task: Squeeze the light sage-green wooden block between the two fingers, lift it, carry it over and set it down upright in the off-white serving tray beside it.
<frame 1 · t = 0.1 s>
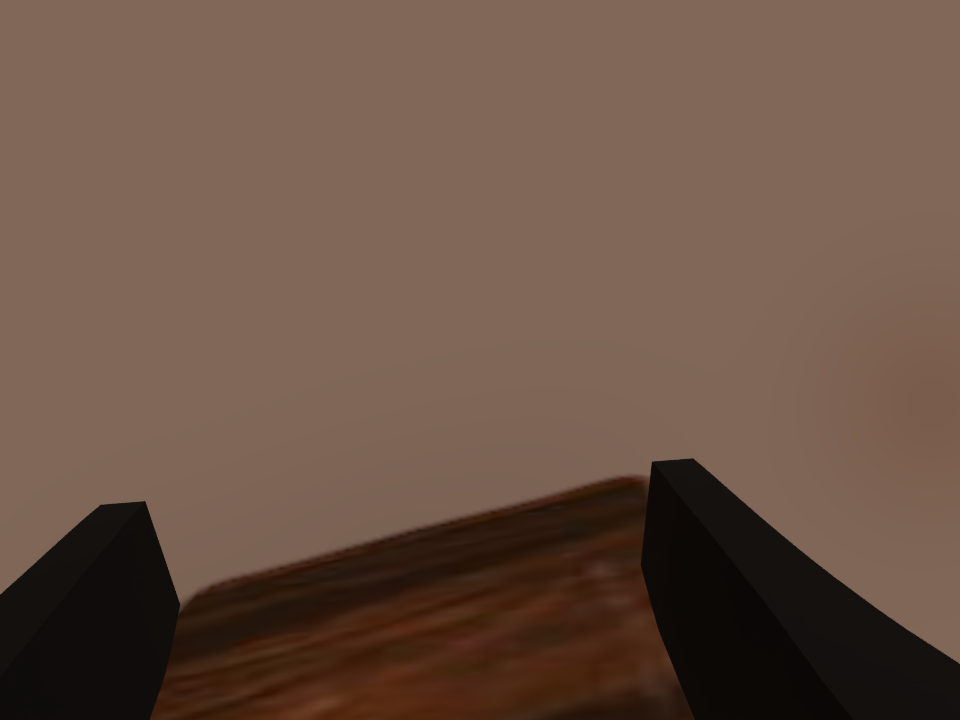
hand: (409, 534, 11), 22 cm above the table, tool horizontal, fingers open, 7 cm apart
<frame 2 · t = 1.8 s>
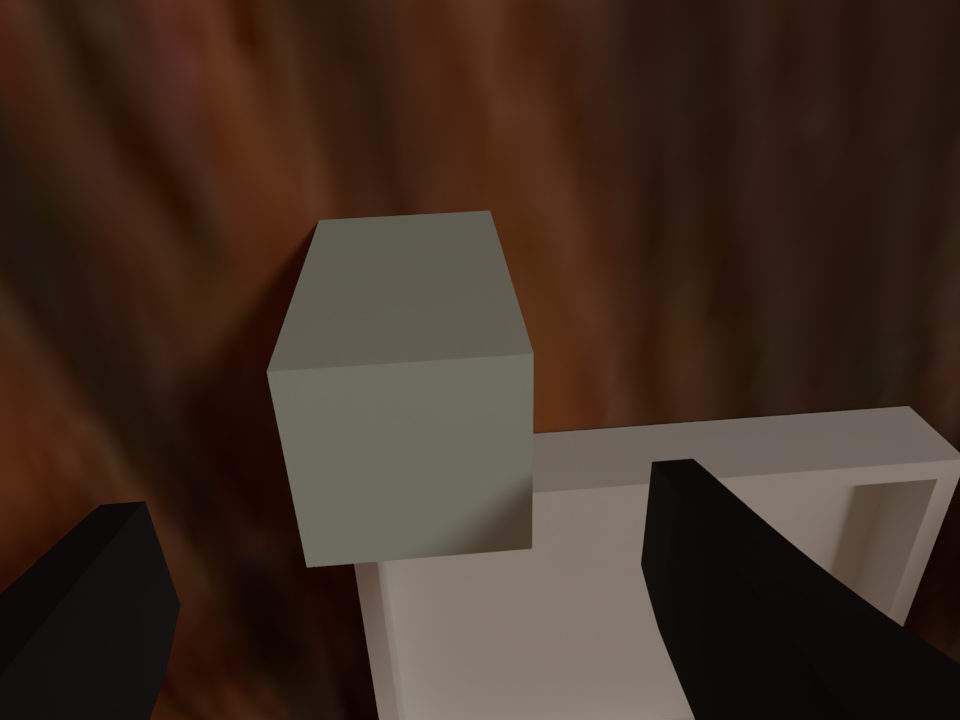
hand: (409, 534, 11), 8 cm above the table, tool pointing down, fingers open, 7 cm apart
serving tray: (621, 589, 24), on the table
sage block: (411, 293, 18), on the table
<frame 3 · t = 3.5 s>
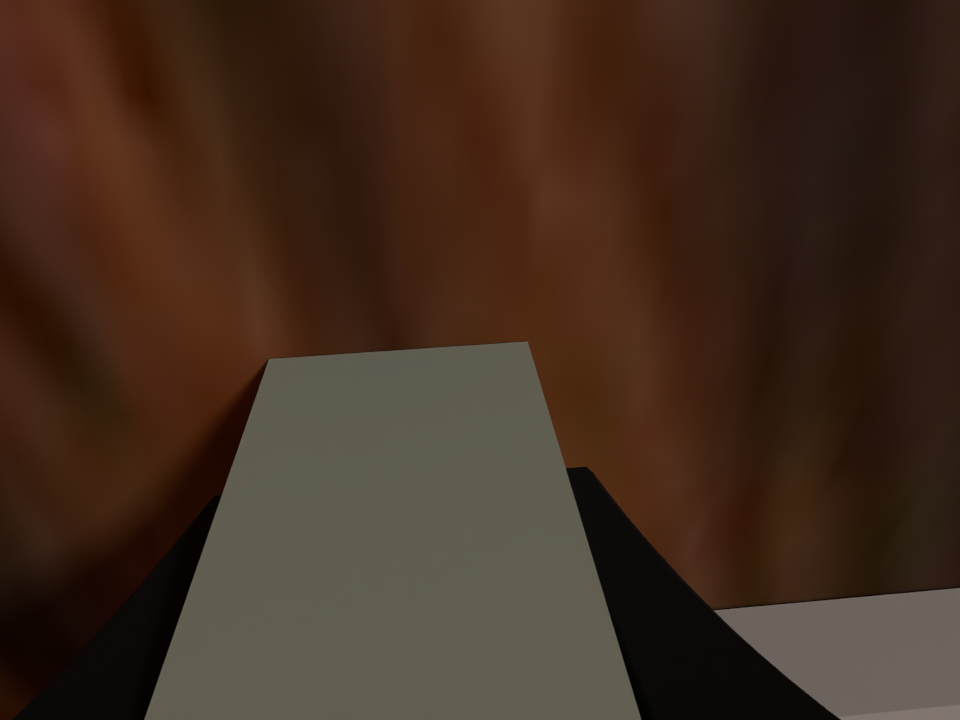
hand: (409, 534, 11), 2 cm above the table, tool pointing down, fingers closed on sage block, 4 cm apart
sage block: (409, 453, 12), on the table, touching gripper
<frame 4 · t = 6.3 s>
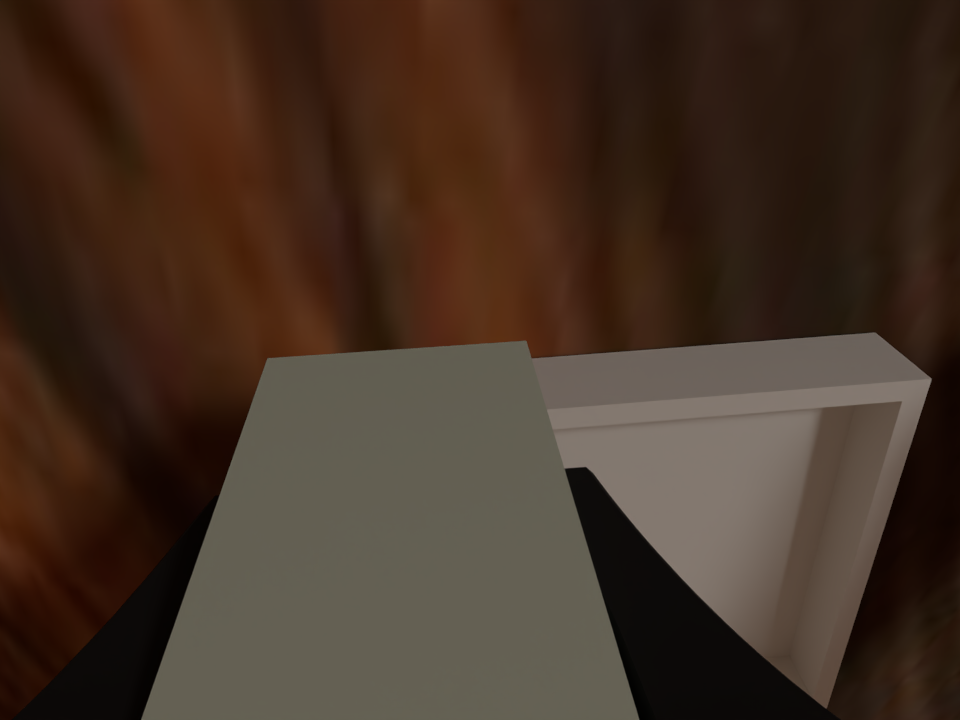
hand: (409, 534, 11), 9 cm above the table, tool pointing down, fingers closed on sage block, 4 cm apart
serving tray: (582, 533, 23), on the table
sage block: (408, 453, 12), point 7 cm above the table, touching gripper
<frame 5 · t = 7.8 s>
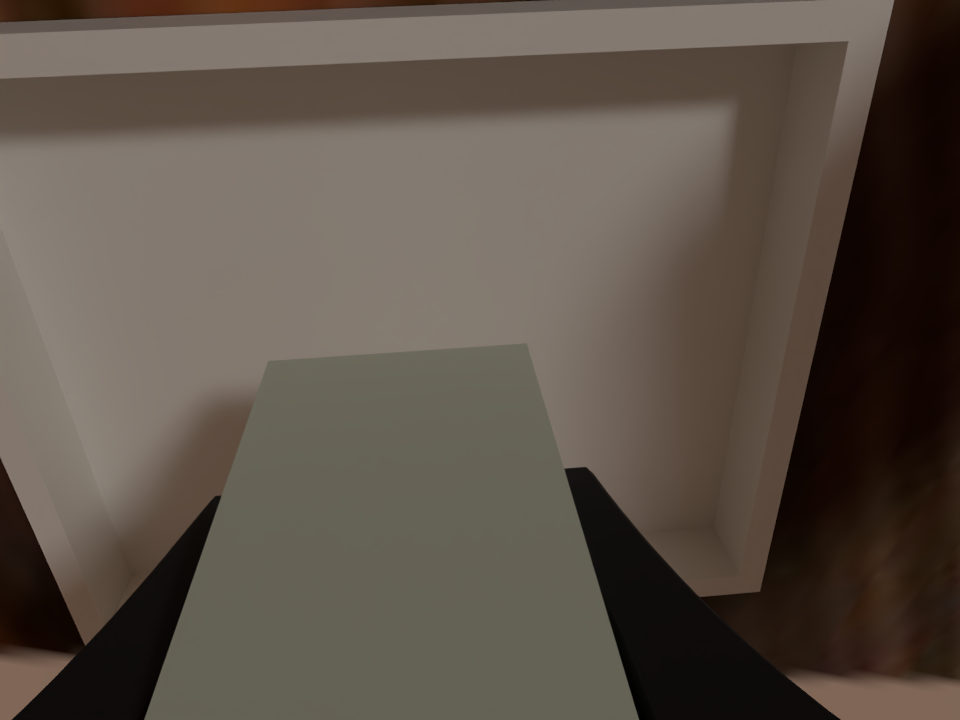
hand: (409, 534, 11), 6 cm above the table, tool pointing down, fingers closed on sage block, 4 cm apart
serving tray: (411, 330, 16), on the table
sage block: (409, 455, 12), point 5 cm above the table, touching gripper
when the fingers open (4 cm above the table, at t = 9.2 s): sage block drops 1 cm, resting on serving tray.
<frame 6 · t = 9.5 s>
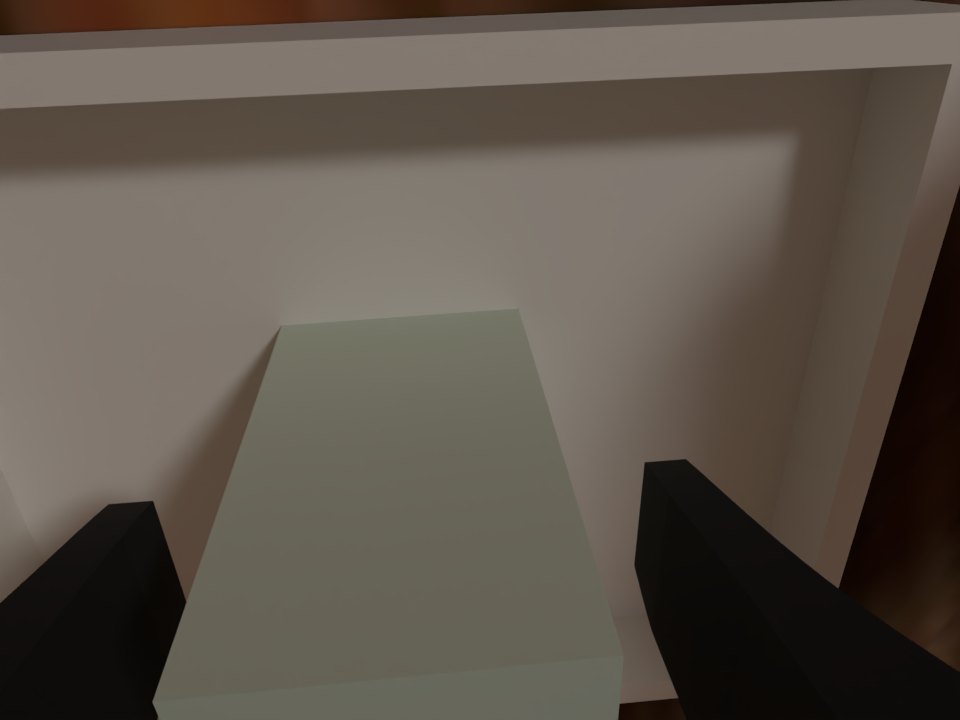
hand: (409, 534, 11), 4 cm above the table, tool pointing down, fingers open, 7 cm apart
serving tray: (409, 392, 14), on the table
sage block: (411, 414, 13), point 1 cm above the table, touching serving tray
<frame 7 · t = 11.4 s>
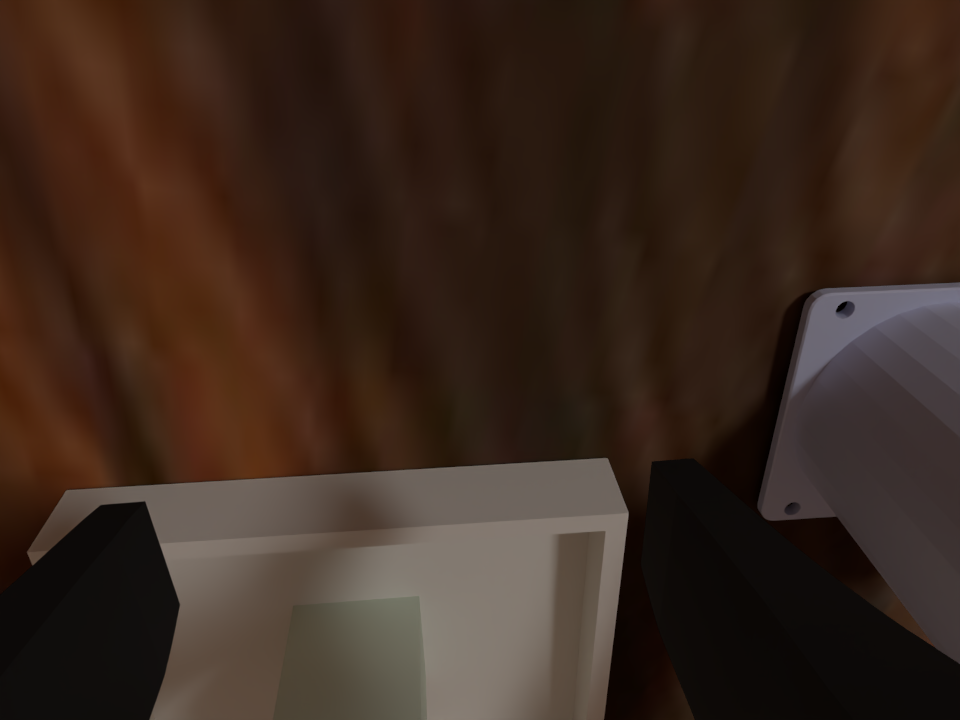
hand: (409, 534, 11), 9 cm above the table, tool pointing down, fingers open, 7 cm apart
serving tray: (363, 623, 25), on the table
sage block: (362, 643, 24), point 1 cm above the table, touching serving tray
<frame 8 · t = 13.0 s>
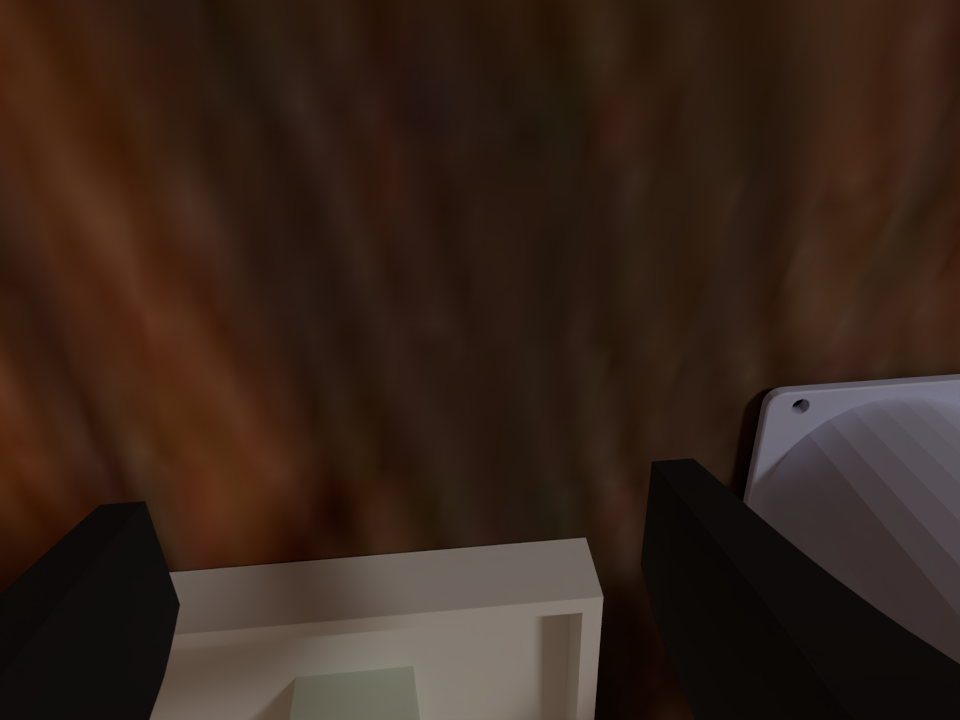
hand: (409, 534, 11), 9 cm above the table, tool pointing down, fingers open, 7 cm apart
serving tray: (362, 688, 26), on the table
sage block: (361, 708, 26), point 1 cm above the table, touching serving tray
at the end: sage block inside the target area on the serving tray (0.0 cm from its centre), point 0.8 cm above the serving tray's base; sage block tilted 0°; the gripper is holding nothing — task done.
